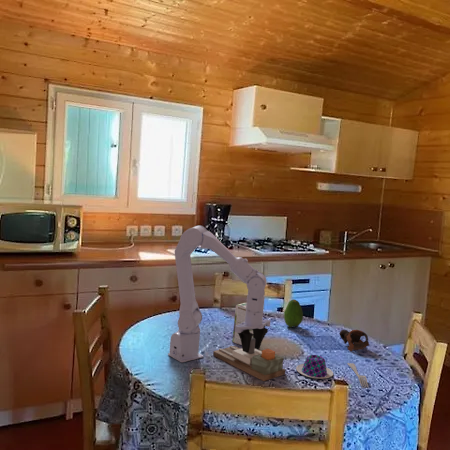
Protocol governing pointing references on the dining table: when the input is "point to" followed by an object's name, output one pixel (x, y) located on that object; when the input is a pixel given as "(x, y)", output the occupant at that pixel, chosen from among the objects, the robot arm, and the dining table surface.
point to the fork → (358, 374)
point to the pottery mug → (354, 339)
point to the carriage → (247, 356)
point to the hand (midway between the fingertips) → (250, 350)
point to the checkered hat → (314, 367)
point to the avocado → (293, 314)
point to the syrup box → (239, 321)
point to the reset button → (268, 354)
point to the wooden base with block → (253, 364)
